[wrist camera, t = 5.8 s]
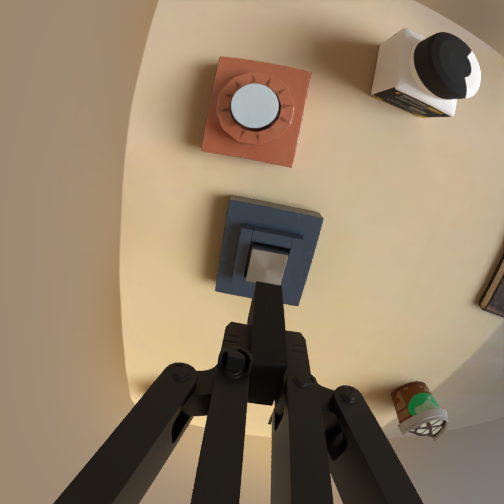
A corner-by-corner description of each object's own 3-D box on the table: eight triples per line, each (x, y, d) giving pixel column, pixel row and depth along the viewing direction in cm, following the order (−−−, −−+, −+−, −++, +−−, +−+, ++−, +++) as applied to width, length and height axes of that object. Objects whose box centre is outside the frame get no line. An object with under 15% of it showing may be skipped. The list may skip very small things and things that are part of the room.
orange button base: (224, 63, 26) (216, 51, 22) (307, 78, 26) (314, 68, 22) (207, 149, 30) (196, 152, 25) (289, 164, 30) (293, 169, 26)
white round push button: (237, 84, 23) (235, 80, 21) (281, 91, 23) (282, 88, 21) (229, 124, 25) (226, 123, 23) (273, 132, 25) (273, 132, 23)
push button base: (232, 194, 32) (227, 202, 28) (319, 212, 32) (326, 222, 28) (217, 281, 36) (212, 298, 32) (296, 296, 36) (299, 314, 33)
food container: (442, 385, 43) (460, 421, 34) (420, 404, 45) (435, 441, 36) (410, 369, 41) (430, 412, 32) (385, 391, 43) (401, 434, 34)
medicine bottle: (369, 96, 27) (421, 80, 16) (378, 44, 24) (428, 10, 13) (422, 118, 27) (485, 118, 16) (430, 68, 24) (490, 51, 13)
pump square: (253, 242, 30) (252, 248, 28) (287, 249, 30) (288, 255, 28) (246, 273, 31) (245, 281, 30) (279, 279, 31) (280, 287, 30)
